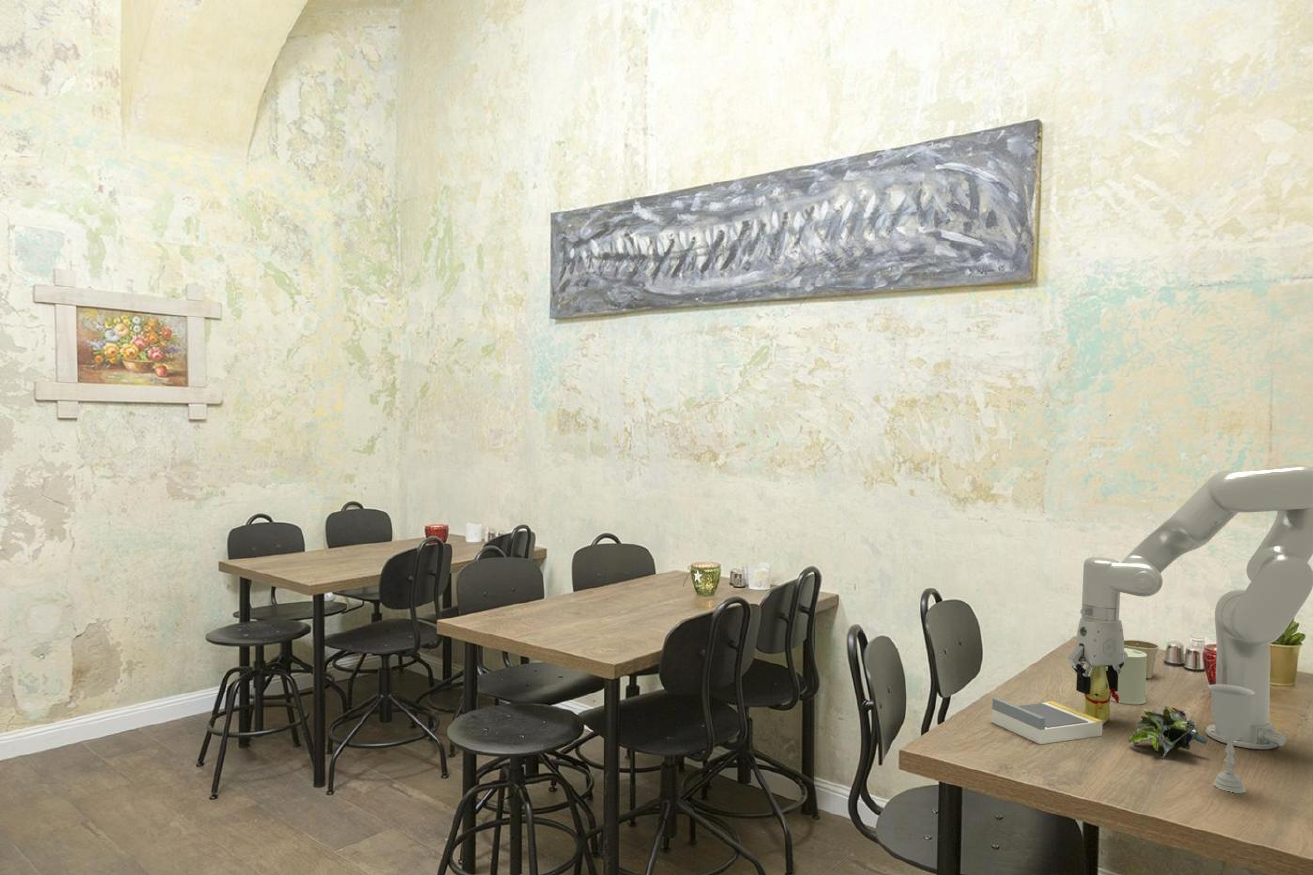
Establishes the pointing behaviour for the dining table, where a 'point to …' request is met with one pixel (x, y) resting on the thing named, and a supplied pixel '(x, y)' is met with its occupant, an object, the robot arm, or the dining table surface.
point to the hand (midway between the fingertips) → (1096, 690)
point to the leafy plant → (1166, 729)
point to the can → (1132, 679)
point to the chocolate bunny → (1099, 695)
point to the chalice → (1230, 727)
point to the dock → (1045, 721)
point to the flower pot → (1146, 648)
